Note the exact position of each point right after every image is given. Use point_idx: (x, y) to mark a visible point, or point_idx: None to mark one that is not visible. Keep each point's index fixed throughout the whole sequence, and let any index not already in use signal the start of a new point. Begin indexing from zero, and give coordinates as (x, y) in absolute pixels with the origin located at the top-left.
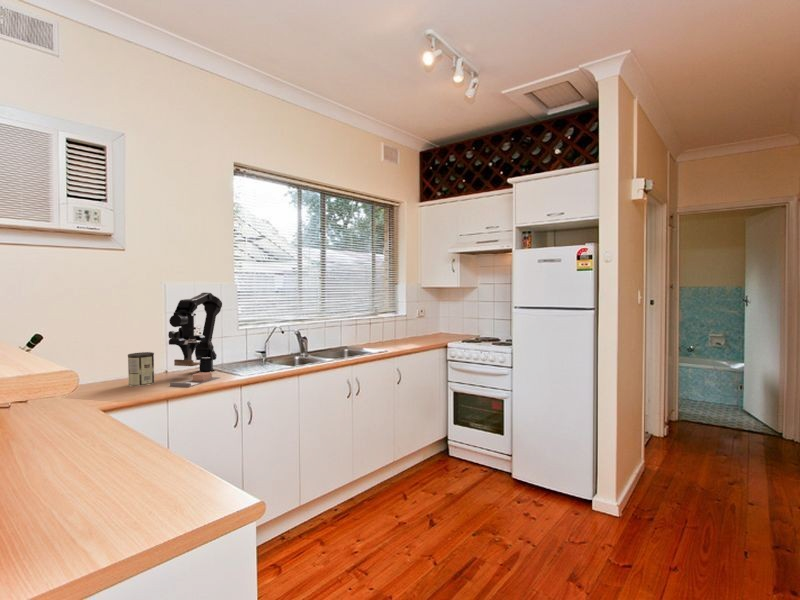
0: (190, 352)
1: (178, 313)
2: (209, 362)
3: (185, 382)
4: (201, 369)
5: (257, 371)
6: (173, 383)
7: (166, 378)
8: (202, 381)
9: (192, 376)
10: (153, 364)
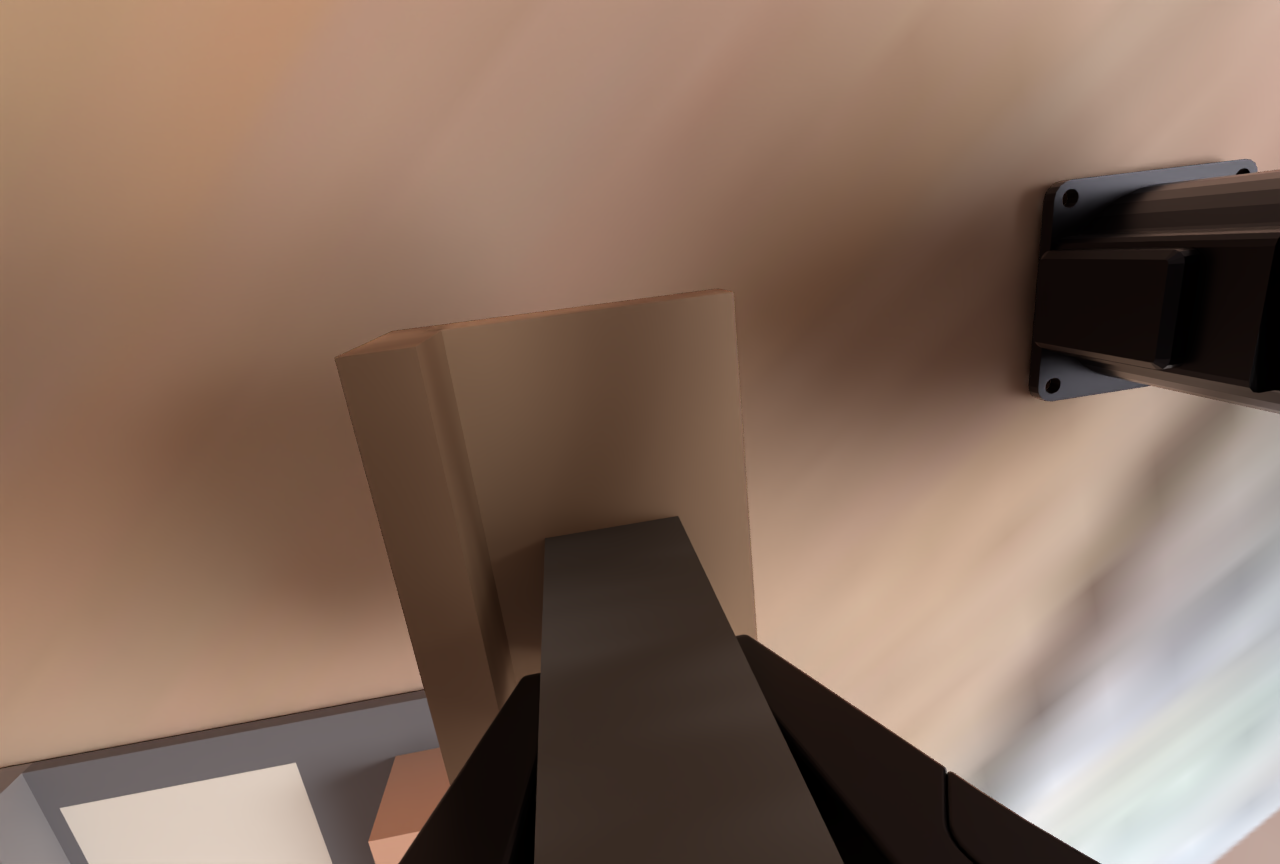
0: None
1: None
2: (1261, 408)
3: (275, 760)
4: (1059, 300)
5: (1185, 854)
6: None
7: (395, 137)
8: None
9: (378, 816)
10: None
